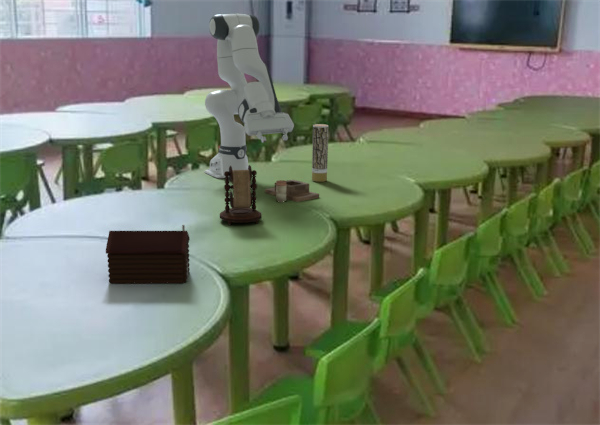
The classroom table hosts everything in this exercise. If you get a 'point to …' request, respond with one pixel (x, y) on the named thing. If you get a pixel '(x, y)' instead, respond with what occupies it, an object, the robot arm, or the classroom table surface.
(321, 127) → the paper tube
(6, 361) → the classroom table surface
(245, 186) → the scroll
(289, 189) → the socket board
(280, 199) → the peg
